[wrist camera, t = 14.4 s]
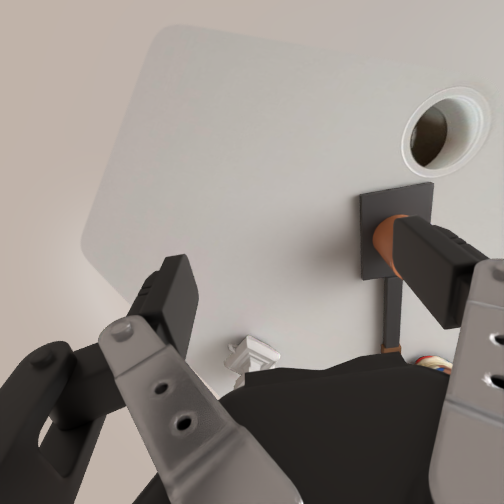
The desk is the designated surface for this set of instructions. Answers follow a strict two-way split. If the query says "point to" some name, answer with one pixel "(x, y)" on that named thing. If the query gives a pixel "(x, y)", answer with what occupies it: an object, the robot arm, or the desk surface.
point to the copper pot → (386, 240)
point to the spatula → (372, 264)
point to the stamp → (250, 358)
